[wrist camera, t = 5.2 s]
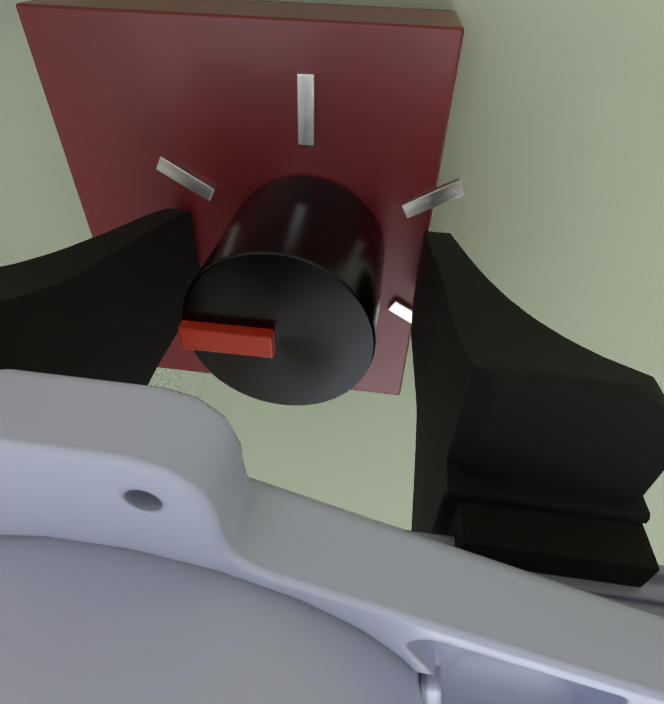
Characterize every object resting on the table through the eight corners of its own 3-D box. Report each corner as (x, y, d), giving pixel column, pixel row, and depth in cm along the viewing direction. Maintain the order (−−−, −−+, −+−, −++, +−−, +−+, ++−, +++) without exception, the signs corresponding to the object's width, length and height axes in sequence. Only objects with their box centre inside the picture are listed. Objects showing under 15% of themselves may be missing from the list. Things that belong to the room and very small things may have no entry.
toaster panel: (419, 346, 17) (419, 402, 15) (164, 319, 18) (132, 368, 16) (484, 12, 11) (500, 30, 9) (81, -9, 12) (8, 4, 10)
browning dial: (392, 181, 11) (383, 271, 8) (377, 319, 14) (367, 425, 11) (222, 168, 11) (155, 251, 8) (240, 306, 14) (194, 405, 11)
